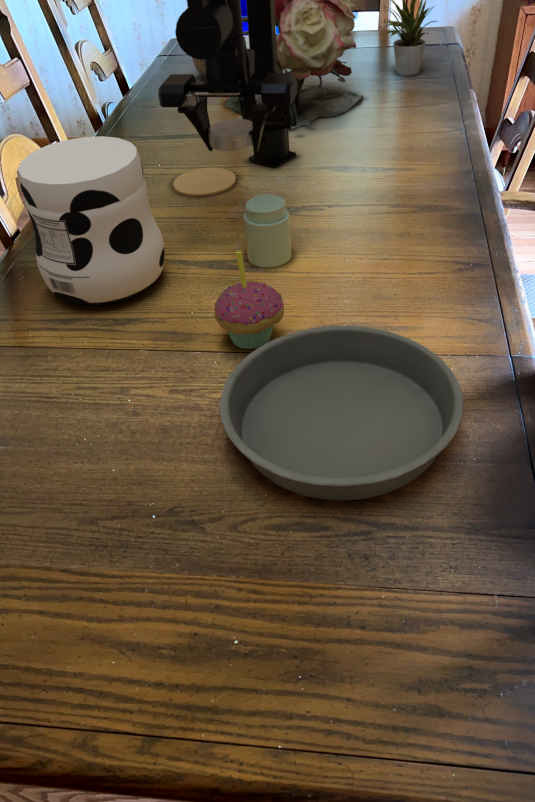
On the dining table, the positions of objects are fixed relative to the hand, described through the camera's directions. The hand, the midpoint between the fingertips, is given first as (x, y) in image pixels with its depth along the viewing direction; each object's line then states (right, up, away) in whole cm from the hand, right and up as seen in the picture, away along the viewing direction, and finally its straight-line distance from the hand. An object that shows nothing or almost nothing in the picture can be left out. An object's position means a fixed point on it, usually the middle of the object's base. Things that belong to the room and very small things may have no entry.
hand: (234, 150), depth 105 cm
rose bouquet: (+12, +26, +47) cm, 55 cm away
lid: (0, +2, -2) cm, 3 cm away
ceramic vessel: (-8, +40, +65) cm, 77 cm away
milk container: (-18, -20, -3) cm, 27 cm away
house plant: (+37, +39, +59) cm, 80 cm away
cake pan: (+13, -40, -29) cm, 51 cm away
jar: (+5, -16, -1) cm, 17 cm away
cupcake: (+3, -29, -16) cm, 33 cm away
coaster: (-6, +1, +20) cm, 21 cm away
